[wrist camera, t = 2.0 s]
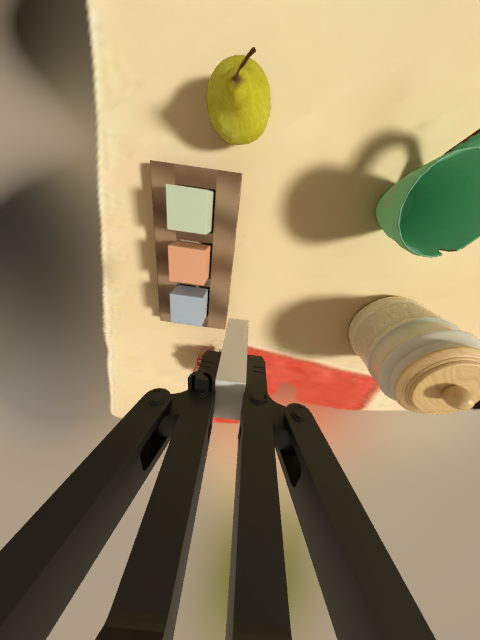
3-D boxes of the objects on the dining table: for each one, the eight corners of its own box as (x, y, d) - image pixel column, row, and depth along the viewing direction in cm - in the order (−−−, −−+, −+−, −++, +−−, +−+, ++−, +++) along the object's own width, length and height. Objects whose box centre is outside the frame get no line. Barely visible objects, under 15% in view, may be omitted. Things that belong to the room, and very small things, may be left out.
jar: (421, 346, 40) (524, 433, 25) (350, 361, 43) (404, 448, 28) (424, 284, 35) (559, 347, 19) (342, 306, 38) (403, 377, 22)
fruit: (218, 155, 28) (196, 125, 18) (208, 84, 25) (175, -4, 15) (269, 146, 28) (279, 110, 17) (266, 72, 24) (275, -29, 14)
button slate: (178, 284, 35) (169, 293, 32) (208, 289, 35) (202, 298, 32) (178, 311, 38) (170, 322, 34) (206, 315, 38) (201, 326, 34)
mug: (387, 256, 33) (434, 274, 24) (342, 216, 31) (377, 221, 22) (485, 160, 27) (597, 138, 18) (439, 102, 25) (540, 45, 16)
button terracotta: (177, 240, 32) (167, 245, 28) (210, 245, 32) (204, 250, 28) (178, 273, 34) (169, 280, 31) (208, 277, 34) (203, 285, 31)
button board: (156, 162, 29) (150, 160, 27) (242, 175, 29) (241, 173, 28) (164, 315, 41) (160, 320, 39) (226, 324, 41) (224, 329, 39)
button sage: (176, 186, 28) (165, 183, 25) (213, 191, 29) (207, 189, 25) (177, 226, 31) (167, 229, 27) (211, 231, 31) (205, 234, 27)
